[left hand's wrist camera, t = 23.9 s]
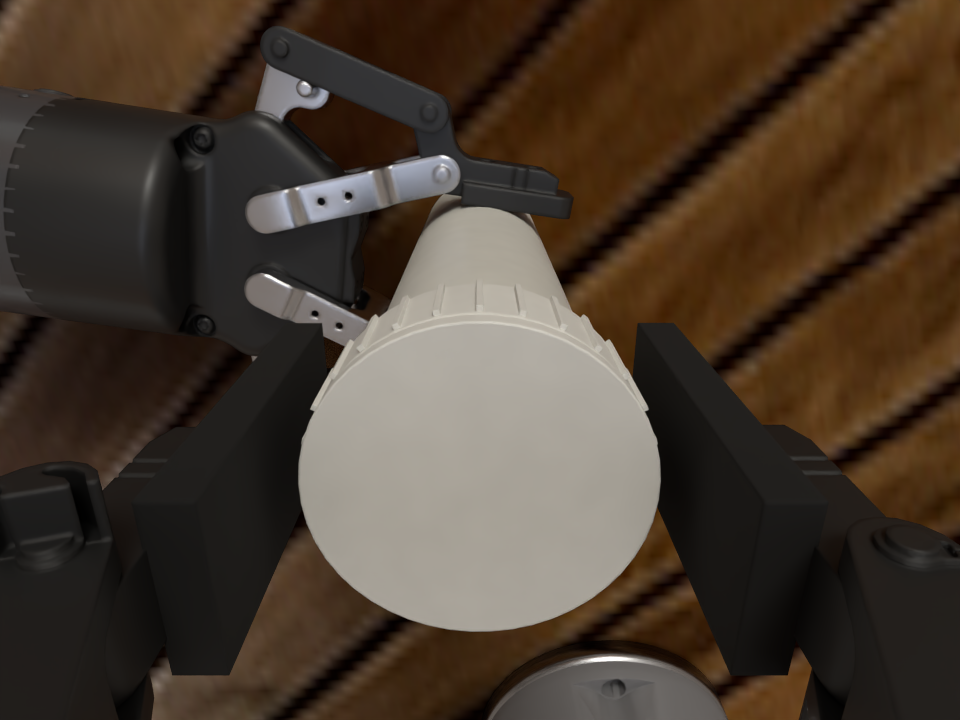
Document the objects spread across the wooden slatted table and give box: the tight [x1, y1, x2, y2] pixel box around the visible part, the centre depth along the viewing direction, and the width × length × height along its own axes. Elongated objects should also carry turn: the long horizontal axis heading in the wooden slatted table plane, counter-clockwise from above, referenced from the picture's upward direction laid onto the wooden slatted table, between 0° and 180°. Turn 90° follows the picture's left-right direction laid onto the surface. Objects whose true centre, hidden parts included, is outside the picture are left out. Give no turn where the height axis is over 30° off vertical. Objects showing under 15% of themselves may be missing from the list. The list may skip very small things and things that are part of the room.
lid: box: [298, 280, 661, 632], centre depth 11 cm, size 6×6×2 cm
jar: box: [387, 194, 572, 311], centre depth 20 cm, size 5×5×20 cm
